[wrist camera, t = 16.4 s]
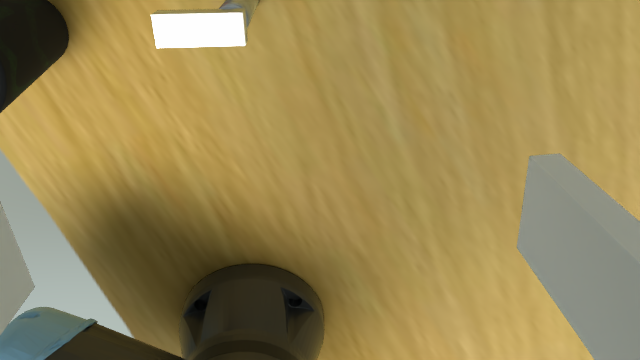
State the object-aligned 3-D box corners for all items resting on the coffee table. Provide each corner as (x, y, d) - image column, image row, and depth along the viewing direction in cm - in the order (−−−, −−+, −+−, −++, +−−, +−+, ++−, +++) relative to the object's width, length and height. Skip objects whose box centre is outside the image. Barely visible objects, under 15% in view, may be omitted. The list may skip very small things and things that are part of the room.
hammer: (260, 10, 40) (245, 47, 28) (196, 12, 39) (156, 49, 28) (258, -17, 39) (242, 10, 28) (192, -15, 38) (150, 12, 27)
